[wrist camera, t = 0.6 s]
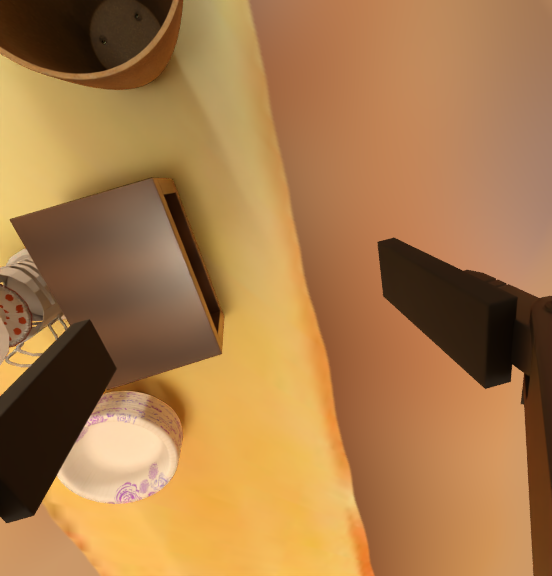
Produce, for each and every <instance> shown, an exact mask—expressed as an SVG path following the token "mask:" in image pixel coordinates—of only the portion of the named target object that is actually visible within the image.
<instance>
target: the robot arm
mask: <svg viewBox="0 0 552 576" xmlns="http://www.w3.org/2000/svg"><path fill="white" fill-rule="evenodd" d="M378 251H379V261H380V270H381V279H382V288H383V296H384V297H385V298H386V299H387V300H388V301H389V302H390V303H391V304H392V305H394V306H395V307H396V308H397V309H398V310H399V311H400V312H401V313H402V314H403V315H405V316H406V317H407V318H408V319H409V320H410V321H411V322H412V323H413V324H414V325H416V326H417V327H418V328H419V329H420V330H421V331H422V332H423V333H424V334H425V335H427V336H428V337H429V338H430V339H431V340H432V341H433V342H434V343H435V344H436V345H438V346H439V347H440V348H441V349H442V350H443V351H444V352H445V353H446V354H447V355H449V356H450V357H451V358H452V359H453V360H454V361H455V362H456V363H457V364H458V365H460V366H461V367H462V368H463V369H464V370H465V371H466V372H467V373H469V375H471V376H472V377H473V378H474V379H475V380H476V381H477V382H478V383H479V384H480V385H482V386H483V387H484V388H485V389H486V388H490V387H493V386H497V385H501V384H504V383H507V382H511V370H512V364H513V365H514V366H515V367H517V368H518V369H519V370H521V371H522V372H524V380H523V390H522V398H521V404H524V408H525V426H526V446H527V464H528V483H529V500H530V518H531V538H532V555H533V573H534V574H533V575H534V576H552V296H548V297H542V298H538V297H536V296H533V295H531V294H529V293H527V292H524V291H522V290H520V289H518V288H516V287H513V286H511V285H509V284H508V285H506V283H504V282H502V281H500V280H496V278H493V277H491V276H489V275H487V274H484V273H480V272H476V271H471V270H465V271H462V270H460V269H458V268H456V267H454V266H452V265H450V264H448V263H446V262H443V261H442V260H439V259H437V258H435V257H433V256H431V255H429V254H427V253H425V252H423V251H421V250H419V249H416V248H414V247H412V246H410V245H408V244H406V243H404V242H402V241H400V240H398V239H396V238H391V239H387V240H383V241H379V242H378ZM116 370H117V368H116V366H115V364H114V362H113V360H112V358H111V357H110V355H109V353H108V351H107V349H106V347H105V346H104V344H103V342H102V340H101V338H100V336H99V335H98V333H97V331H96V329H95V327H94V325H93V324H92V322H91V320H90V319H88V320H84V321H81V322H77V323H73V324H72V325H71V326H70V327H69V328H68V329H67V330H66V331H65V332H64V333H63V334H62V335H61V336H60V337H59V338H58V339H57V340H56V341H55V342H54V343H53V344H52V345H51V346H50V347H49V348H48V349H47V350H46V351H45V352H44V353H43V354H42V355H41V356H40V357H39V358H38V359H37V360H36V361H35V362H34V363H33V364H32V365H31V366H30V367H29V368H28V369H27V370H26V371H25V372H24V373H23V374H22V375H21V376H20V377H19V378H18V379H17V380H16V381H15V382H14V383H13V384H12V385H11V386H10V387H9V388H8V389H7V390H6V391H5V392H4V393H3V394H2V395H1V396H0V517H1V518H2V519H3V520H4V521H5V522H6V523H9V522H13V521H17V520H20V519H23V518H27V517H31V516H34V515H35V513H36V511H37V509H38V508H39V506H40V504H41V502H42V500H43V499H44V497H45V495H46V493H47V492H48V490H49V488H50V486H51V485H52V483H53V481H54V479H55V478H56V476H57V474H58V472H59V470H60V469H61V467H62V465H63V463H64V462H65V460H66V458H67V456H68V455H69V453H70V451H71V449H72V447H73V446H74V444H75V442H76V440H77V439H78V437H79V435H80V433H81V432H82V430H83V428H84V426H85V425H86V423H87V421H88V419H89V417H90V416H91V414H92V412H93V410H94V409H95V407H96V405H97V403H98V402H99V400H100V398H101V396H102V395H103V393H104V391H105V389H106V387H107V386H108V384H109V382H110V380H111V379H112V377H113V375H114V373H115V372H116Z"/></svg>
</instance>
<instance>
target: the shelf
mask: <svg viewBox="0 0 552 576" xmlns="http://www.w3.org/2000/svg"><path fill="white" fill-rule="evenodd" d="M10 221H11V223H12V225H13V227H14V228H15V230H16V232H17V234H18V235H19V237H20V239H21V241H22V242H23V244H24V246H25V248H26V249H27V251H28V253H29V255H30V256H31V258H32V260H33V261H34V263H35V265H36V267H37V268H38V270H39V272H40V274H41V275H42V277H43V279H44V281H45V282H46V284H47V286H48V288H49V289H50V291H51V293H52V295H53V296H54V298H55V300H56V302H57V303H58V305H59V307H60V309H61V310H62V312H63V314H64V316H65V317H66V319H67V321H68V322H69V324H70V326H71V325H72V324H73V323H77V322H81V321H84V320H88V319H90V320H91V322H92V324H93V325H94V327H95V329H96V331H97V333H98V335H99V336H100V338H101V340H102V342H103V344H104V346H105V347H106V349H107V351H108V353H109V355H110V357H111V358H112V360H113V362H114V364H115V366H116V368H117V370H116V372H115V373H114V375H113V377H112V379H111V380H110V382H109V384H108V386H107V387H106V389H107V390H109V389H112V388H115V387H118V386H121V385H125V384H128V383H131V382H134V381H137V380H141V379H144V378H147V377H150V376H153V375H156V374H160V373H163V372H166V371H169V370H172V369H175V368H179V367H182V366H185V365H188V364H191V363H195V362H198V361H201V360H204V359H207V358H210V357H214V356H217V355H220V354H222V345H223V329H224V315H223V312H222V310H221V307H220V304H219V302H218V299H217V296H216V294H215V291H214V288H213V286H212V283H211V280H210V277H209V275H208V272H207V269H206V267H205V264H204V261H203V259H202V256H201V253H200V251H199V248H198V245H197V243H196V240H195V237H194V235H193V232H192V229H191V227H190V224H189V221H188V219H187V216H186V213H185V210H184V208H183V205H182V202H181V200H180V197H179V194H178V192H177V189H176V186H175V184H174V181H173V179H169V178H148V179H145V180H142V181H138V182H135V183H131V184H128V185H125V186H121V187H118V188H114V189H111V190H108V191H104V192H101V193H97V194H94V195H91V196H87V197H84V198H80V199H77V200H74V201H70V202H67V203H63V204H60V205H57V206H53V207H50V208H46V209H43V210H40V211H36V212H33V213H29V214H26V215H23V216H19V217H16V218H12V219H10Z"/></svg>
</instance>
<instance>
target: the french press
mask: <svg viewBox="0 0 552 576" xmlns="http://www.w3.org/2000/svg"><path fill="white" fill-rule="evenodd" d="M1 282H3V285H2V284H0V365H1V364H2V362H3V360H4V359H5V361H6V362H7V363H8V364H11V365H15V366H19V367H30V366H31V365H32V364H28V365H21V364H17V363H13V362H10V361H9V360H8V359H9V358H10V357H11V356H12V355H14V354H15V353H16V352H17V351H18V352H20V353H23V354H27V355H31V356H41V355H42V354H43V353H37V354H32V353H29V352H26V351H23V350H21V349H20V348H21V347H22V346H23V345H24V342H26V341H27V340H29V339H30V338H31V337H33V336H34V335H36V334H37V333H38V332H40V331H41V330H42V329H43V328H45V327H46V326H47V325H48V327H49V328H50V330H51V332H52V333H53V335H54V336H55V339H56V340H57V339H58V336H57V334H56V333H55V331H54V330H53V329H52V327H51V325H52V324H53V323H55V322H56V321H57V320H60V322H61V323H62V325H63V326H64V328H65V330H67V326H66V324H65V323H64V322H63V320H62V319H66V317H65V316H64V314H63V312H62V310H61V309H60V307H59V305H58V303H57V302H56V300H55V298H54V296H53V295H52V293H51V291H50V289H49V288H48V286H47V284H46V282H45V281H44V279H43V277H42V275H41V274H40V272H39V270H38V268H37V267H36V265H35V263H34V261H33V260H32V258H31V256H30V255H29V253H28V251H27V249H22V250H21V251H19V252H18V253H16V254H15V255H13V256H12V257H10V258H9V260H8V262H7V264H6V266H4V267H1V268H0V283H1ZM42 320H43V321H42ZM32 321H42V322H36V323H32ZM32 325H37V326H36V327H32ZM19 343H20V344H19ZM16 345H17V346H16ZM14 346H16V349H15V350H14V351H13V352H12V353H10V354H9V355H8V356H7V357H6V355H7V354H8V352H9V347H14Z"/></svg>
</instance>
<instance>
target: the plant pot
mask: <svg viewBox="0 0 552 576" xmlns="http://www.w3.org/2000/svg"><path fill="white" fill-rule="evenodd" d="M182 8H183V0H0V54H2V55H3V56H5V57H7V58H9V59H10V60H12V61H14V62H16V63H18V64H20V65H22V66H24V67H26V68H28V69H31V70H33V71H36V72H39V73H42V74H45V75H48V76H51V77H54V78H57V79H61V80H64V81H68V82H72V83H75V84H80V85H84V86H89V87H94V88H101V89H113V90H123V89H132V88H137V87H141V86H143V85H146V84H148V83H150V82H151V81H153V80H154V79H156V78H157V77H158V76H159V75H160V74H161V73H162V71H163V70H164V69H165V67H166V66H167V64H168V62H169V60H170V58H171V56H172V54H173V51H174V48H175V45H176V42H177V38H178V34H179V29H180V24H181V17H182ZM136 14H138V15H139V17H138V18H135V16H136ZM103 40H105V41H106V44H103V43H102V41H103Z"/></svg>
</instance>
